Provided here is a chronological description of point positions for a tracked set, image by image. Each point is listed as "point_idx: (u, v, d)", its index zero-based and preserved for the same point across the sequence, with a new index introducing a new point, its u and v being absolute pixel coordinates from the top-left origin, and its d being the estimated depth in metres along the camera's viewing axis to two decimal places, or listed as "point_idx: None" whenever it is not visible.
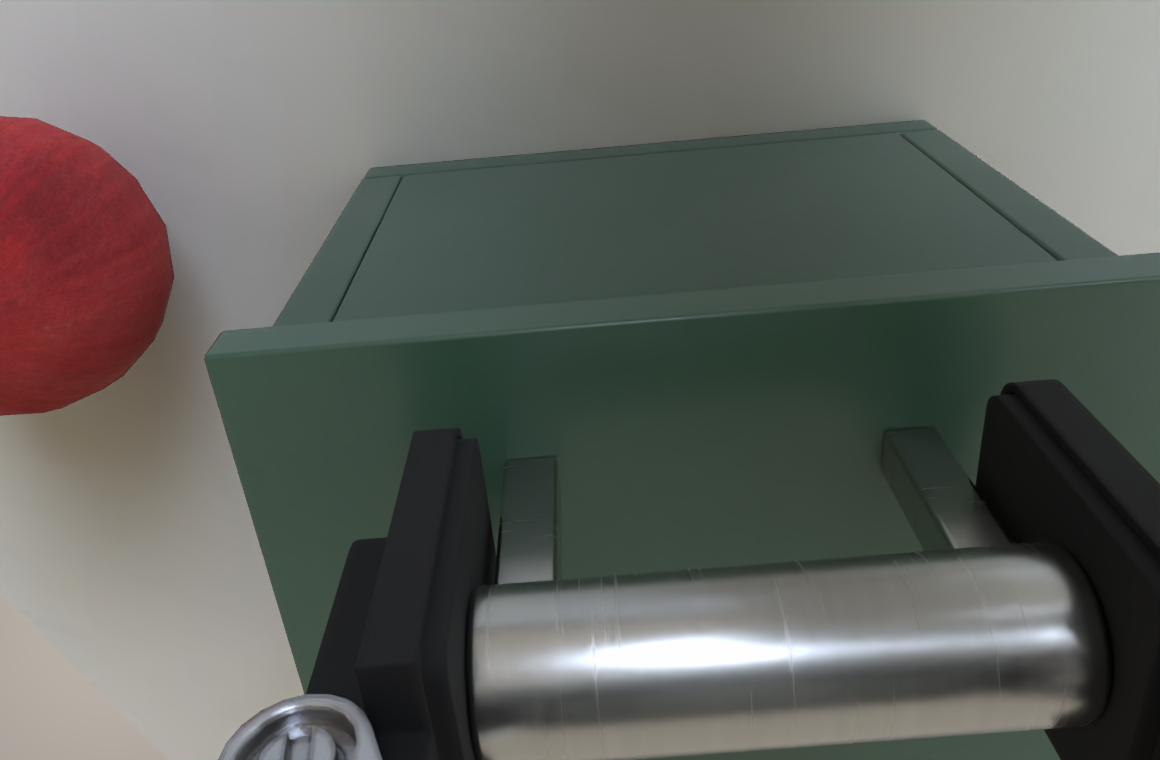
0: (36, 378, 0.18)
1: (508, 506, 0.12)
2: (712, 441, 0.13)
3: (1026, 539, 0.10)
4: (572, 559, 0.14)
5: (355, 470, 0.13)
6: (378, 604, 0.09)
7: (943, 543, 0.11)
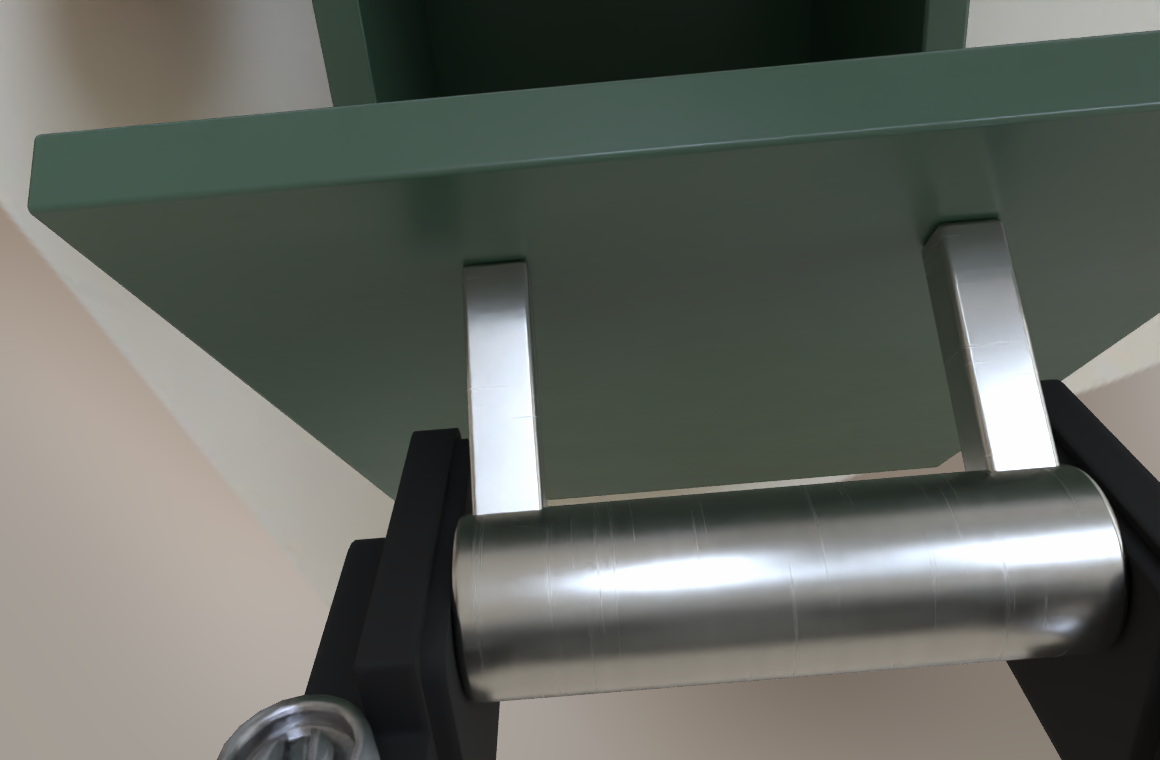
0: None
1: (474, 358, 0.10)
2: (721, 239, 0.10)
3: None
4: (546, 317, 0.12)
5: (273, 279, 0.10)
6: (377, 604, 0.08)
7: (979, 436, 0.09)
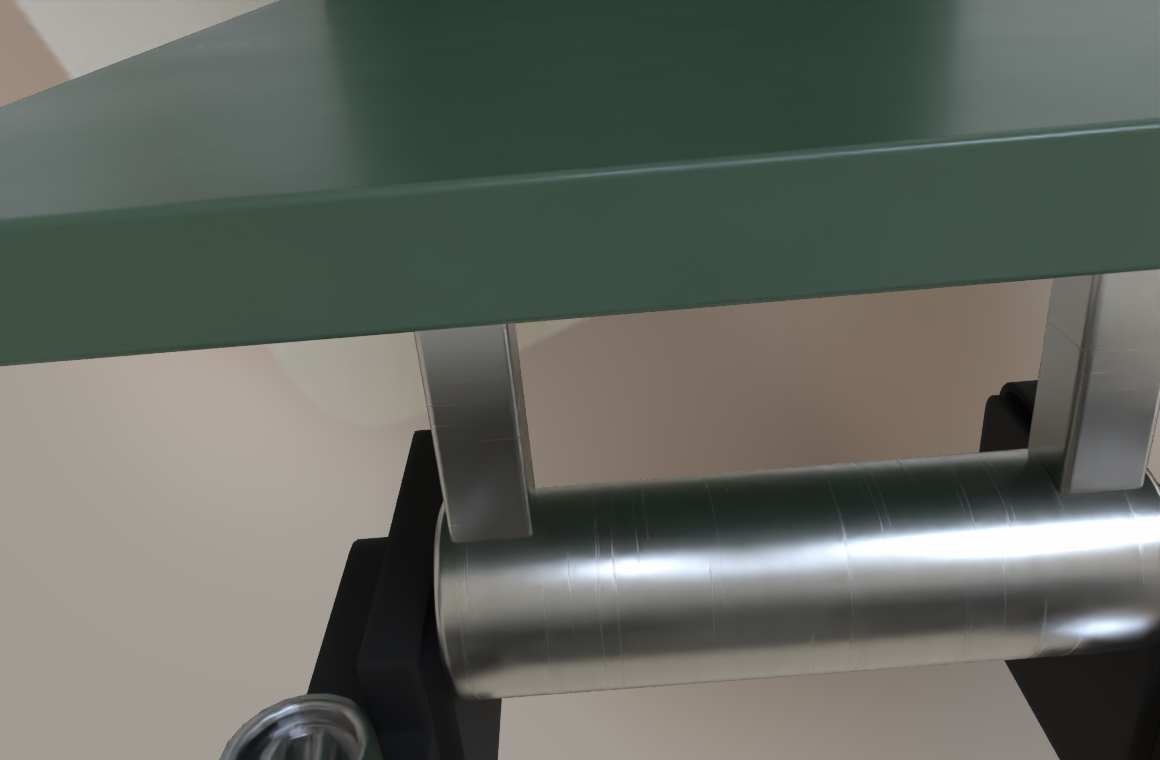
0: None
1: (432, 368, 0.07)
2: None
3: None
4: None
5: None
6: (379, 604, 0.09)
7: (1062, 449, 0.08)
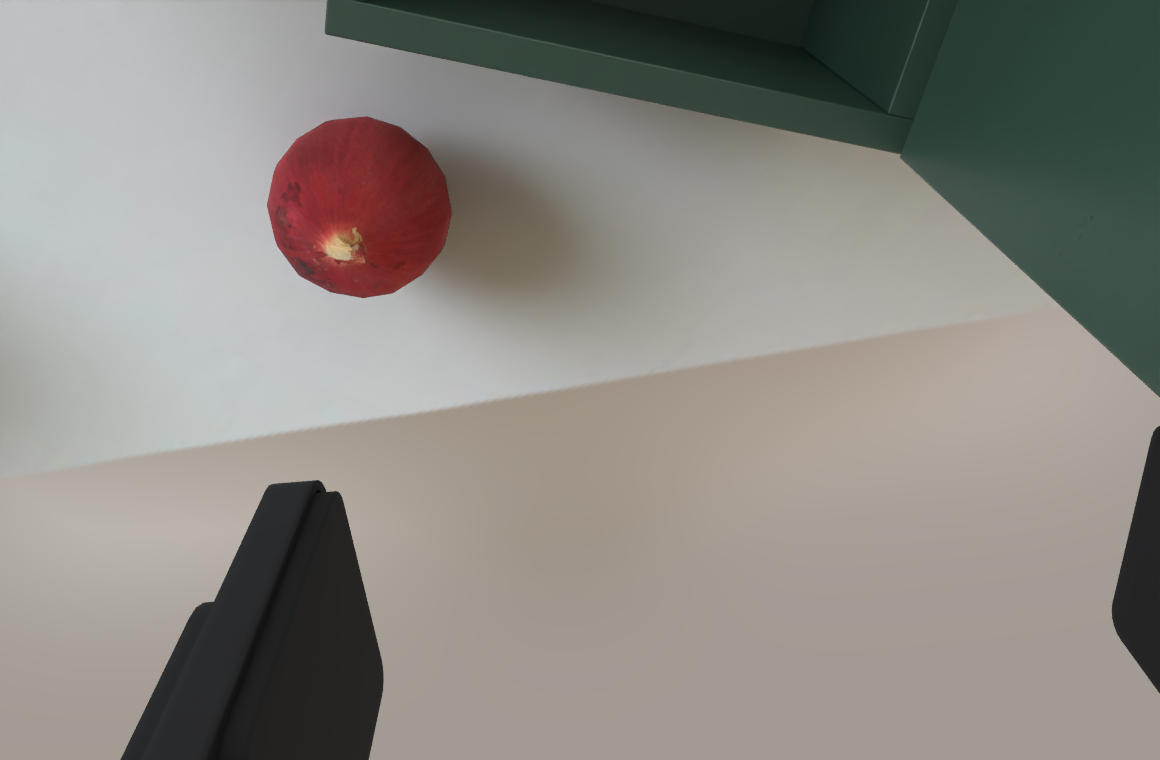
0: (394, 206, 0.29)
1: None
2: None
3: None
4: None
5: None
6: (180, 693, 0.08)
7: None
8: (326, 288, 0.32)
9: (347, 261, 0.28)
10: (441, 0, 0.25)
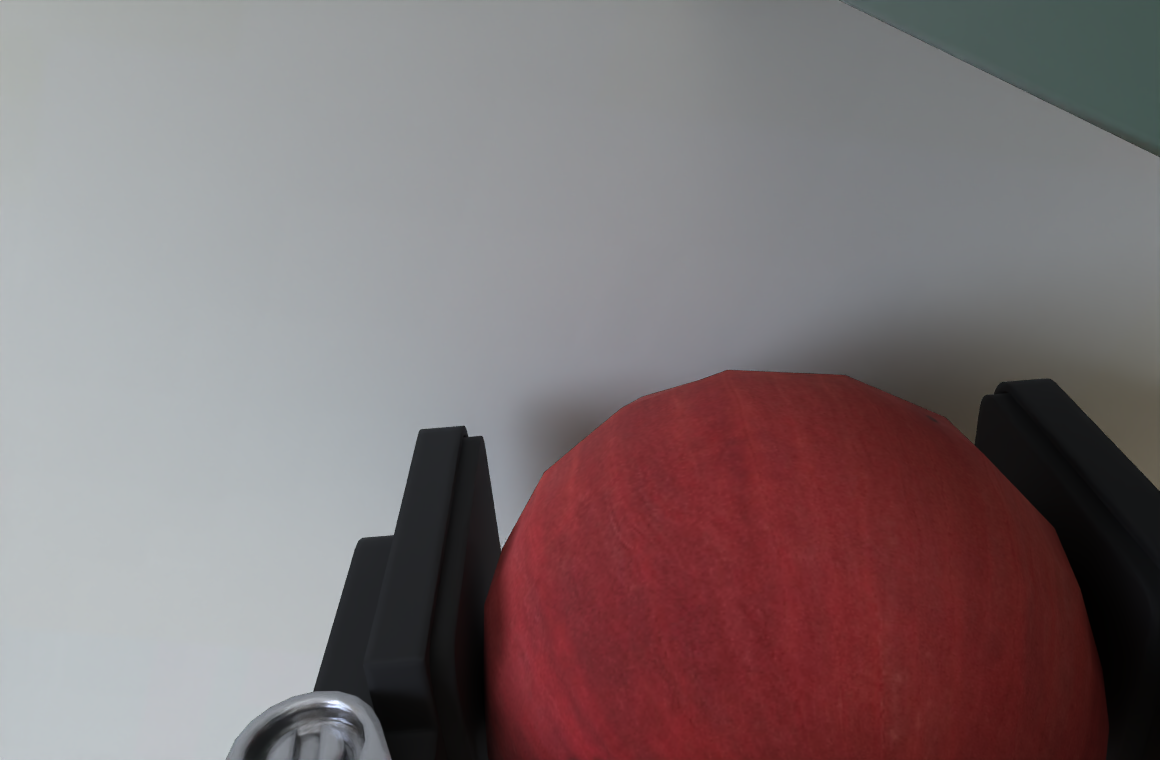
0: None
1: None
2: None
3: None
4: None
5: None
6: (386, 601, 0.09)
7: None
8: None
9: None
10: None
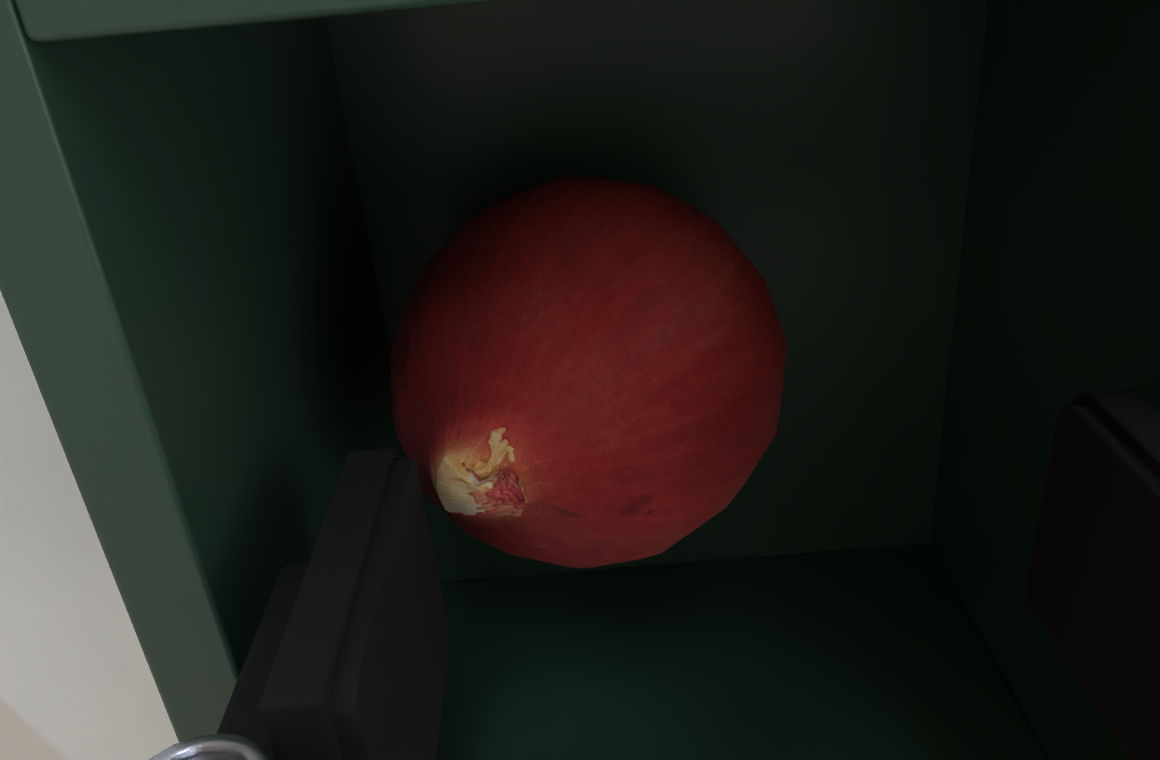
0: (603, 364, 0.12)
1: None
2: None
3: (1104, 555, 0.10)
4: None
5: None
6: (291, 638, 0.08)
7: None
8: None
9: (478, 517, 0.11)
10: (203, 150, 0.10)
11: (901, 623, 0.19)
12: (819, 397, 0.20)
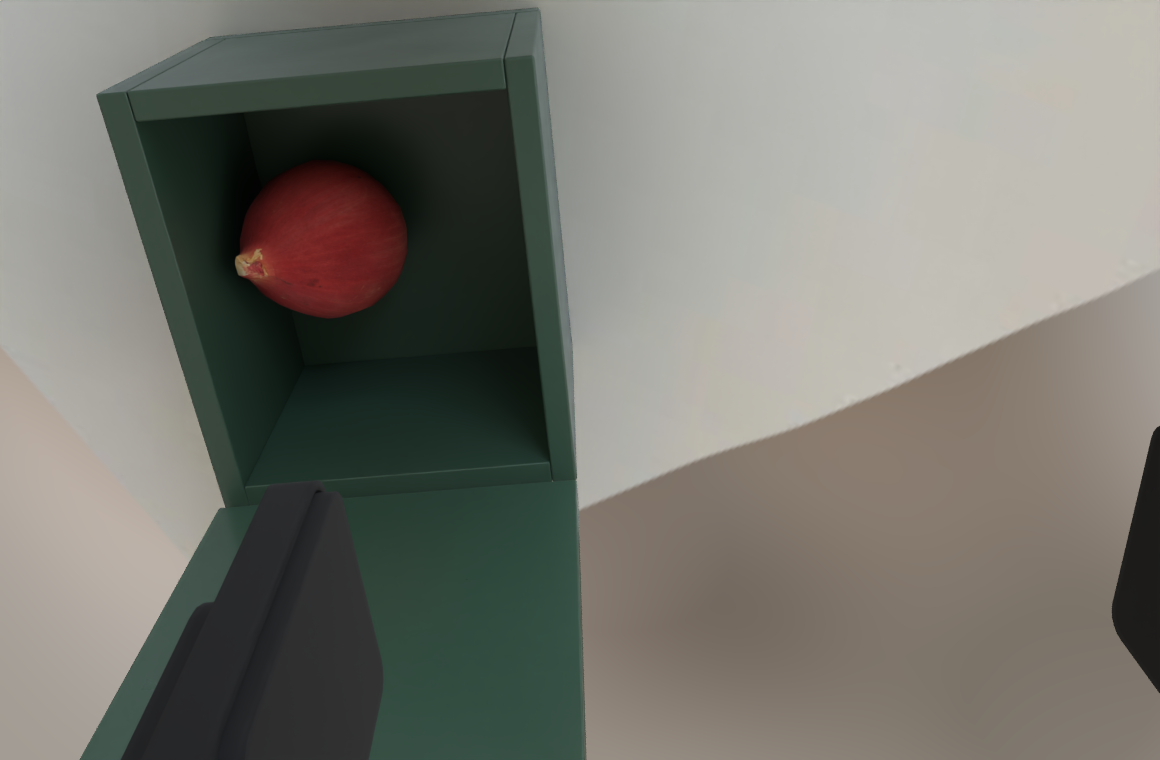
0: (297, 228, 0.33)
1: None
2: None
3: None
4: None
5: None
6: (180, 693, 0.08)
7: None
8: None
9: (247, 277, 0.33)
10: (181, 148, 0.32)
11: (517, 372, 0.41)
12: (481, 266, 0.41)
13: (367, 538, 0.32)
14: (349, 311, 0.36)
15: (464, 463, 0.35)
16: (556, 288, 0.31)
